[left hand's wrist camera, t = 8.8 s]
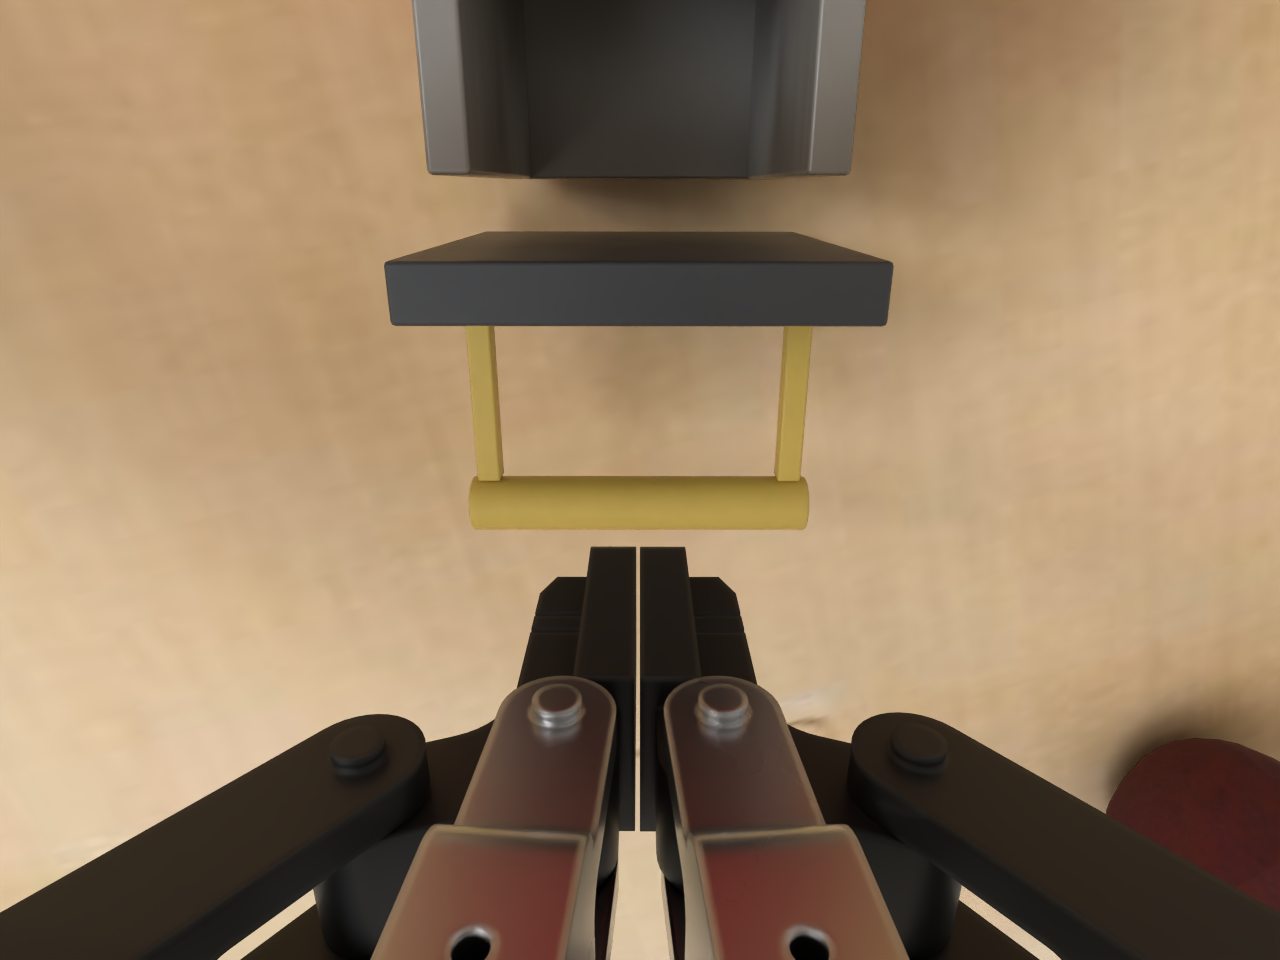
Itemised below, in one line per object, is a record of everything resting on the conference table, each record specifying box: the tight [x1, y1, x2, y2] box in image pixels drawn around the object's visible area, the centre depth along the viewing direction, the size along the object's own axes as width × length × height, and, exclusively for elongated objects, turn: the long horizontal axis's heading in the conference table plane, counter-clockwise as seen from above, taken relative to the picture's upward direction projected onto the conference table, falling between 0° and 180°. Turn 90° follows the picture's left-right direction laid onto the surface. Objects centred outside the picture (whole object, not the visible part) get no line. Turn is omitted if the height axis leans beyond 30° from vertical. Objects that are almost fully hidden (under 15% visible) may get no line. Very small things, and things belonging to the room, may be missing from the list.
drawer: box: [384, 0, 893, 530], centre depth 17 cm, size 22×10×10 cm, turn 0°
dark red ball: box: [1106, 738, 1280, 913], centre depth 29 cm, size 7×8×7 cm
